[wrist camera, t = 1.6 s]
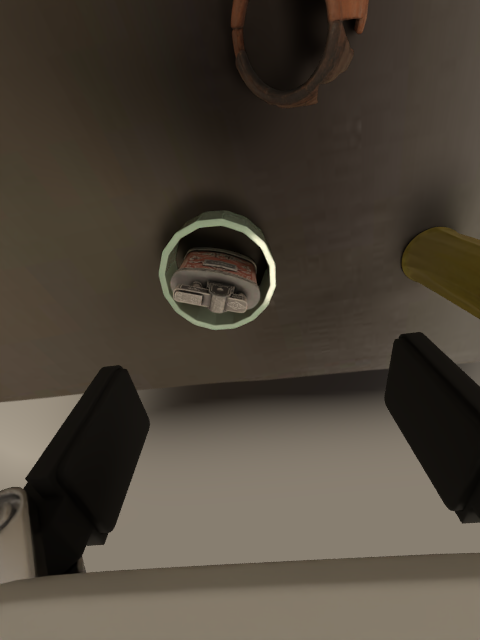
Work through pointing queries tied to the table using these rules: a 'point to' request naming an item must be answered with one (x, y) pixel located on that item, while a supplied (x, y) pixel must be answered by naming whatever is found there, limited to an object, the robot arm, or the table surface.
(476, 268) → the vase
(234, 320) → the pale green hollow ring
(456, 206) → the table surface
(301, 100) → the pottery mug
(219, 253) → the lighter
